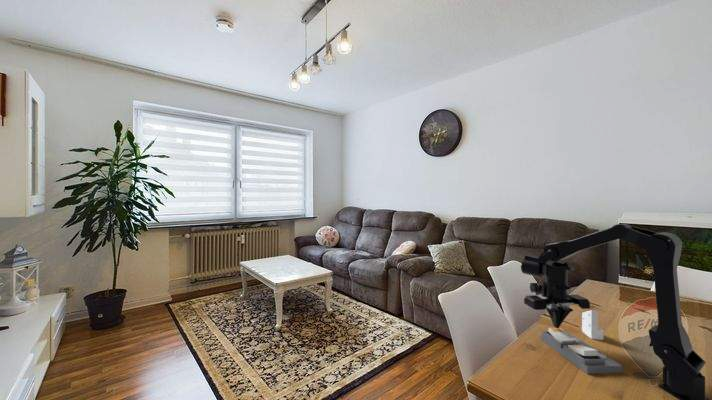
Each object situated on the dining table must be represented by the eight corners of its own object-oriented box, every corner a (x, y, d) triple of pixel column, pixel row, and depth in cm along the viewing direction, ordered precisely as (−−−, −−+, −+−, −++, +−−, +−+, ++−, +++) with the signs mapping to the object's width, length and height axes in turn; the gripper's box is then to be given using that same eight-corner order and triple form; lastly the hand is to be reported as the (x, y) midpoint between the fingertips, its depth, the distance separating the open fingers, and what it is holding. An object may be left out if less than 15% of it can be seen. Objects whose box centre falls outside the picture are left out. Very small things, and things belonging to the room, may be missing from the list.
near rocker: (598, 355, 83) (597, 349, 83) (584, 356, 83) (583, 350, 83) (581, 349, 89) (580, 344, 89) (568, 350, 88) (567, 344, 89)
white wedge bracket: (599, 337, 96) (591, 309, 100) (584, 339, 104) (577, 314, 108) (612, 338, 95) (603, 310, 99) (595, 340, 103) (588, 314, 108)
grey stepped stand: (621, 372, 81) (622, 361, 81) (587, 373, 81) (587, 362, 81) (569, 338, 100) (569, 329, 100) (540, 339, 100) (540, 330, 100)
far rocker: (573, 344, 92) (574, 340, 91) (561, 344, 92) (561, 340, 91) (559, 331, 98) (560, 327, 97) (548, 331, 97) (548, 327, 97)
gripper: (565, 273, 105) (565, 316, 105) (514, 274, 104) (514, 317, 104) (591, 283, 93) (591, 331, 94) (535, 284, 93) (534, 332, 93)
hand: (556, 327), depth 96 cm, fingers closed
